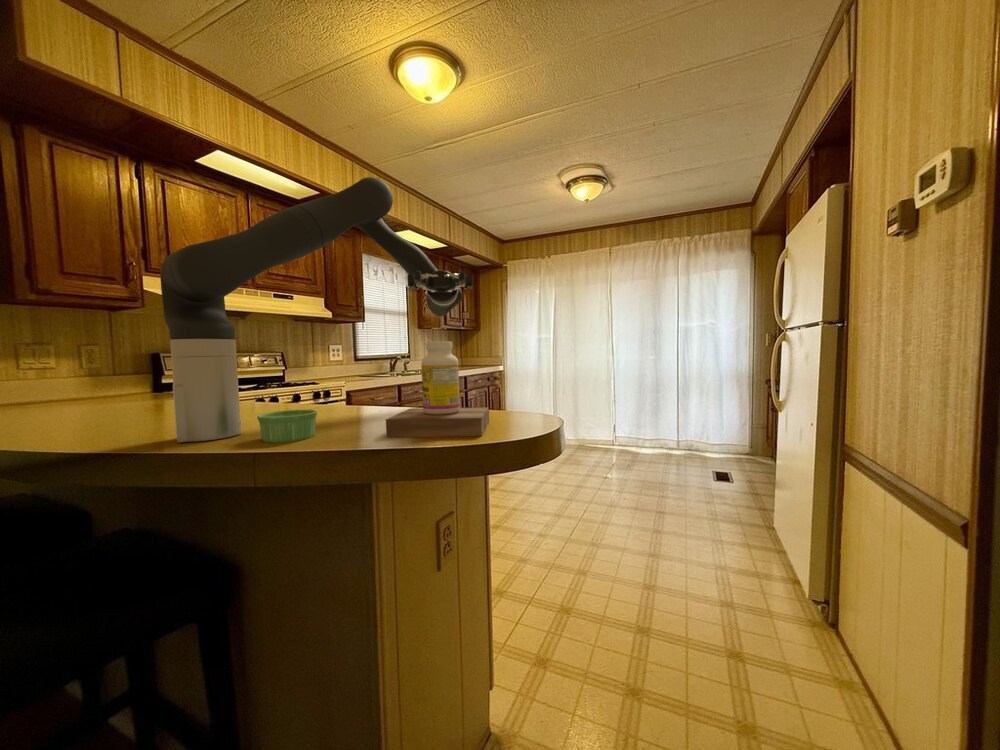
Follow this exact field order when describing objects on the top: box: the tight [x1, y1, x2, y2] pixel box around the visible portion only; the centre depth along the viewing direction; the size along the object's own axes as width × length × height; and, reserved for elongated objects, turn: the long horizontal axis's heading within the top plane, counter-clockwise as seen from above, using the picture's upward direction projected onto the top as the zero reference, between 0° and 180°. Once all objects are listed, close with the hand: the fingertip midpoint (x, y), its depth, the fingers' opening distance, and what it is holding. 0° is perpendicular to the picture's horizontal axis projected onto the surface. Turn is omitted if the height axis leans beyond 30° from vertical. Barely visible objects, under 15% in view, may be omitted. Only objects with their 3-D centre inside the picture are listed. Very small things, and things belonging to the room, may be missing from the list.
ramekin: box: [257, 409, 318, 444], centre depth 67 cm, size 9×9×4 cm
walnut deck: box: [385, 406, 490, 438], centre depth 71 cm, size 13×16×3 cm
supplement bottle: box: [420, 341, 461, 415], centre depth 71 cm, size 7×7×13 cm
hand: (439, 275), depth 81 cm, fingers open, 8 cm apart
